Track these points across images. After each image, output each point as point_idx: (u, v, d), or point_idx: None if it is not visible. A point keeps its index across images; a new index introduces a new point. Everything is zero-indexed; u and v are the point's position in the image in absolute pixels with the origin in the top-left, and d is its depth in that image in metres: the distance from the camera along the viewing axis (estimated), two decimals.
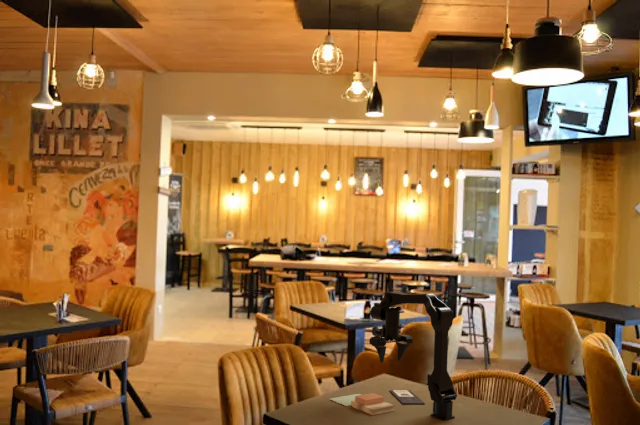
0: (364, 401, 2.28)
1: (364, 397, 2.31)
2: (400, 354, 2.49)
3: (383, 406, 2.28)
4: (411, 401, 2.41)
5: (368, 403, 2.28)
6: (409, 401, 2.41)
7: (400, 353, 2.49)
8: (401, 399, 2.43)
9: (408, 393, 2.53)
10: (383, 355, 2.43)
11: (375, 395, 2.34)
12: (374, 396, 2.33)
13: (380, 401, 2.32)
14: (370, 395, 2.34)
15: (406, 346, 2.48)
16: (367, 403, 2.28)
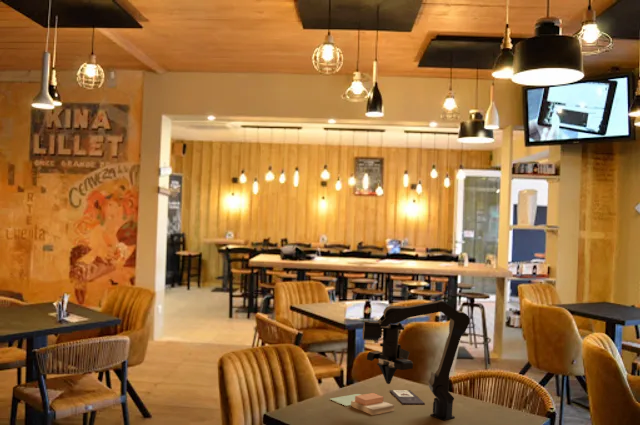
0: (364, 401, 2.28)
1: (364, 397, 2.31)
2: None
3: (383, 406, 2.28)
4: (411, 401, 2.41)
5: (368, 403, 2.28)
6: (409, 401, 2.41)
7: None
8: (401, 399, 2.43)
9: (408, 393, 2.53)
10: (383, 374, 2.25)
11: (375, 395, 2.34)
12: (374, 396, 2.33)
13: (380, 401, 2.32)
14: (370, 395, 2.34)
15: (386, 368, 2.22)
16: (367, 403, 2.28)
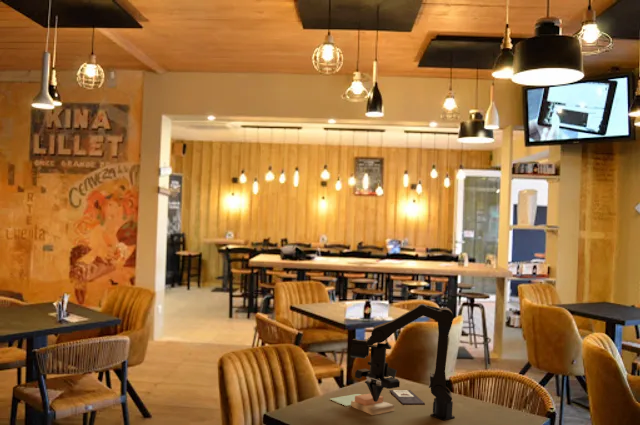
0: (364, 401, 2.28)
1: (364, 397, 2.31)
2: None
3: (383, 406, 2.28)
4: (411, 401, 2.41)
5: (368, 403, 2.28)
6: (409, 401, 2.41)
7: None
8: (401, 399, 2.43)
9: (408, 393, 2.53)
10: (371, 392, 2.29)
11: None
12: None
13: (380, 401, 2.32)
14: (370, 395, 2.34)
15: (373, 386, 2.27)
16: (367, 403, 2.28)
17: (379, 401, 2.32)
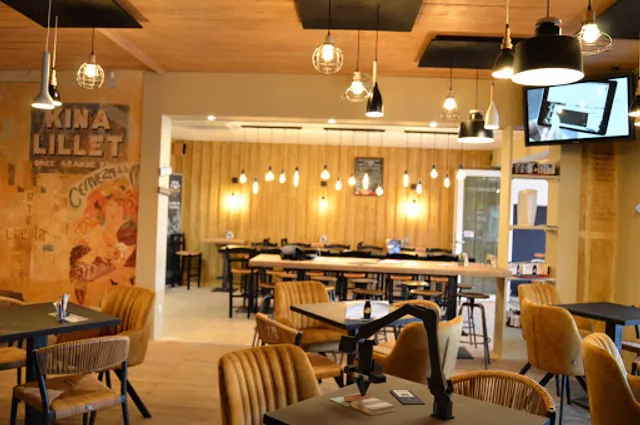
0: (352, 397, 2.34)
1: (352, 394, 2.36)
2: None
3: (383, 406, 2.28)
4: (411, 401, 2.41)
5: (356, 398, 2.34)
6: (409, 401, 2.41)
7: None
8: (401, 399, 2.43)
9: (408, 393, 2.53)
10: (358, 387, 2.35)
11: None
12: None
13: (368, 396, 2.37)
14: (358, 393, 2.40)
15: (361, 382, 2.32)
16: (355, 398, 2.33)
17: (367, 396, 2.37)
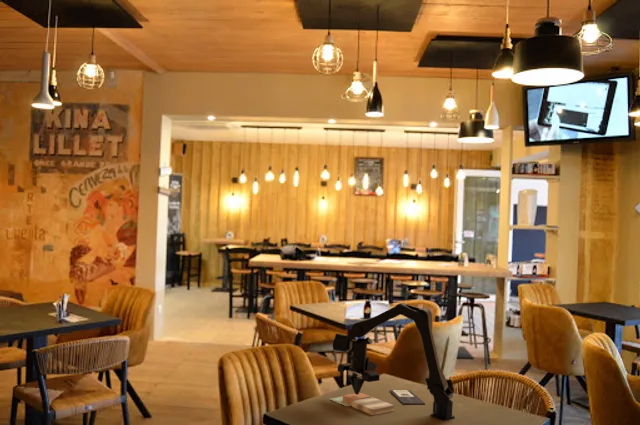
0: (351, 400, 2.34)
1: (351, 396, 2.37)
2: None
3: (383, 406, 2.28)
4: (411, 401, 2.41)
5: None
6: (409, 401, 2.41)
7: None
8: (401, 399, 2.43)
9: (408, 393, 2.53)
10: (352, 385, 2.38)
11: (362, 394, 2.40)
12: (361, 396, 2.38)
13: None
14: None
15: (354, 380, 2.35)
16: None
17: None
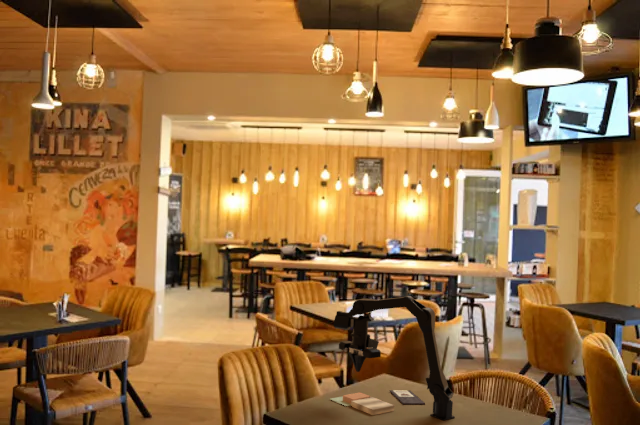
0: (351, 400, 2.34)
1: (351, 396, 2.37)
2: None
3: (383, 406, 2.28)
4: (411, 401, 2.41)
5: None
6: (410, 401, 2.41)
7: None
8: (401, 399, 2.43)
9: (408, 393, 2.53)
10: (353, 363, 2.38)
11: (362, 394, 2.40)
12: (361, 396, 2.38)
13: None
14: (357, 394, 2.40)
15: (355, 357, 2.36)
16: None
17: None
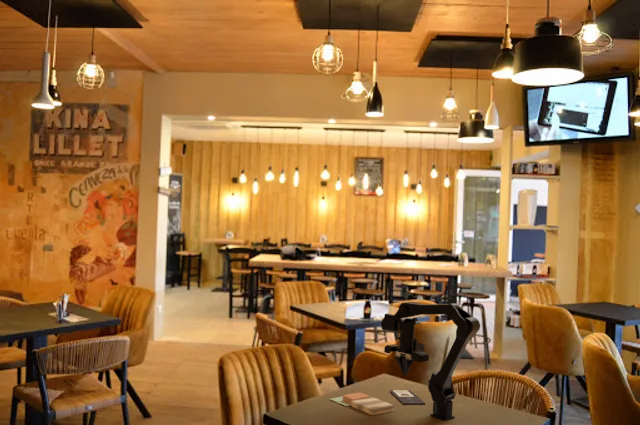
0: (351, 400, 2.34)
1: (351, 396, 2.37)
2: None
3: (383, 406, 2.28)
4: (412, 401, 2.41)
5: None
6: (410, 401, 2.41)
7: None
8: (401, 399, 2.43)
9: (408, 393, 2.53)
10: (400, 366, 2.35)
11: (362, 394, 2.40)
12: (361, 396, 2.38)
13: None
14: (357, 394, 2.40)
15: (403, 360, 2.33)
16: None
17: None
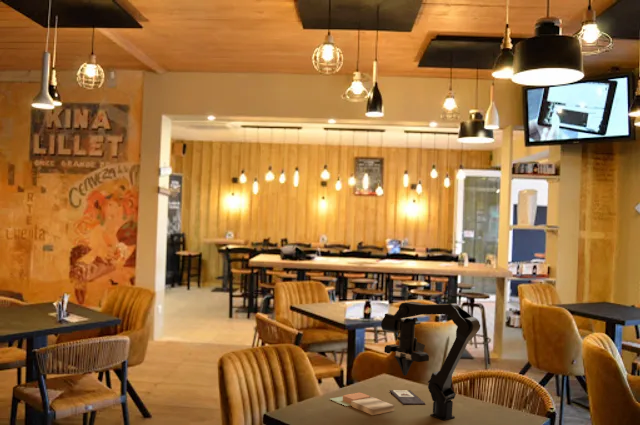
0: (351, 400, 2.34)
1: (351, 396, 2.37)
2: None
3: (383, 406, 2.28)
4: (412, 401, 2.41)
5: None
6: (410, 401, 2.41)
7: None
8: (402, 399, 2.43)
9: (408, 393, 2.53)
10: (400, 366, 2.35)
11: (362, 394, 2.40)
12: (361, 396, 2.38)
13: None
14: (357, 394, 2.40)
15: (403, 360, 2.33)
16: None
17: None
